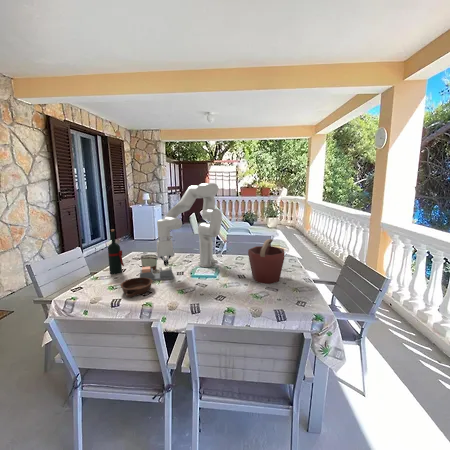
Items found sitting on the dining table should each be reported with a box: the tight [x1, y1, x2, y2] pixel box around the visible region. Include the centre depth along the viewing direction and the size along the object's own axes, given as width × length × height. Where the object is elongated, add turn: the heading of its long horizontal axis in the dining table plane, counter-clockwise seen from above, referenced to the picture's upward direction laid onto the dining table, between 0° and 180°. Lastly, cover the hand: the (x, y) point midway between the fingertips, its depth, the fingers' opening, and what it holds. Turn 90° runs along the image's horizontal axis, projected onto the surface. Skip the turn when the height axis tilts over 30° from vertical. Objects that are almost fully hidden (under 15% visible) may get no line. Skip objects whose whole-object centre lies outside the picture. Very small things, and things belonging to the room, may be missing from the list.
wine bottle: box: [107, 229, 125, 275], centre depth 175 cm, size 8×10×30 cm
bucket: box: [247, 238, 285, 285], centre depth 162 cm, size 24×22×25 cm
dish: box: [119, 277, 154, 298], centre depth 147 cm, size 18×22×5 cm
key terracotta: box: [141, 266, 151, 273], centre depth 165 cm, size 5×5×3 cm
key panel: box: [138, 266, 174, 281], centre depth 167 cm, size 21×10×5 cm, turn 105°
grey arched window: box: [140, 253, 159, 272], centre depth 183 cm, size 12×6×10 cm, turn 84°
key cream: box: [160, 266, 170, 271], centre depth 169 cm, size 5×5×3 cm
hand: (166, 265), depth 168 cm, fingers closed
